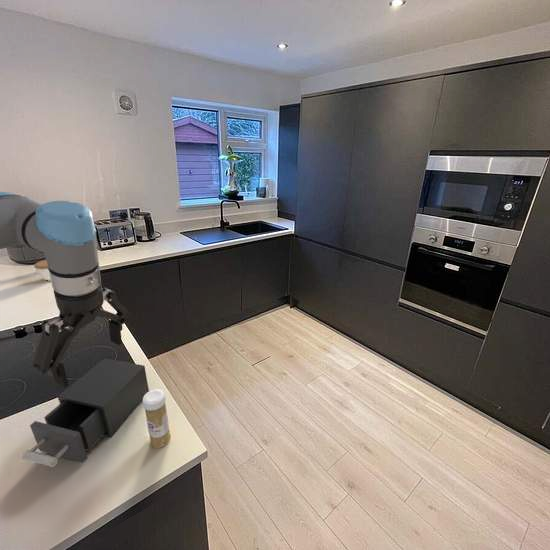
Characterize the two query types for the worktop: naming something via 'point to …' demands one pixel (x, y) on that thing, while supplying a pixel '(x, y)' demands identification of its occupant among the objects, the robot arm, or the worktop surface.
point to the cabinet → (110, 391)
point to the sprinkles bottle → (157, 418)
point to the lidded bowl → (42, 270)
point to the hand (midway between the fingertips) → (91, 361)
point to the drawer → (66, 433)
